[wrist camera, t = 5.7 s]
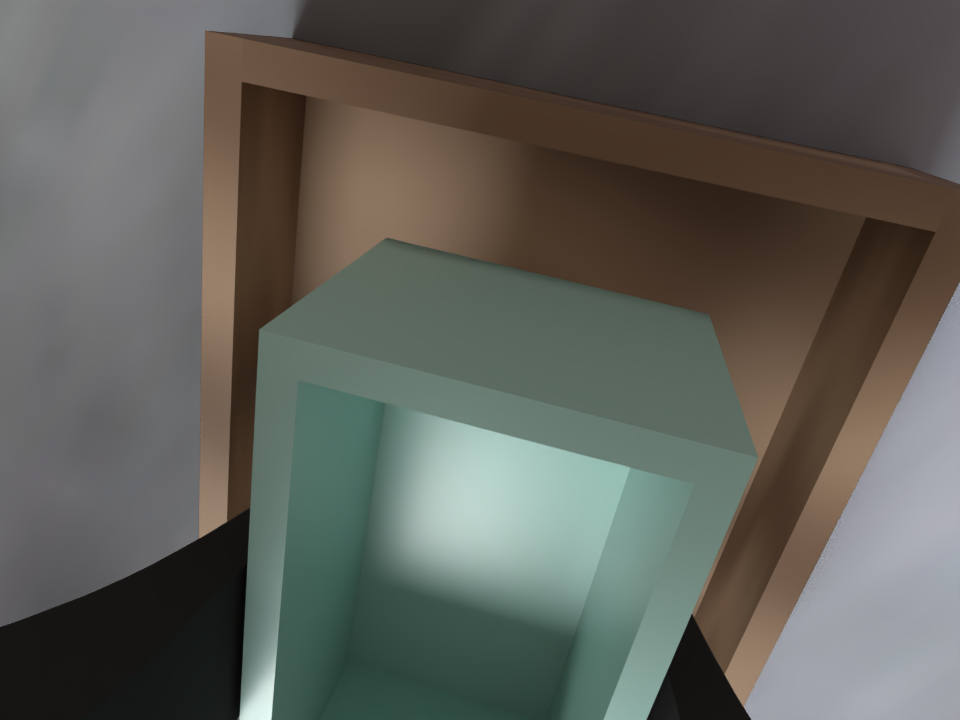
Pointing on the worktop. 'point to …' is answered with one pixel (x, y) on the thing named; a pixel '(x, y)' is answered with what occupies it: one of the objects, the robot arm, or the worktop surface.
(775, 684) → the worktop surface
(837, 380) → the big crate
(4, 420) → the worktop surface
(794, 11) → the worktop surface
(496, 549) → the small crate
